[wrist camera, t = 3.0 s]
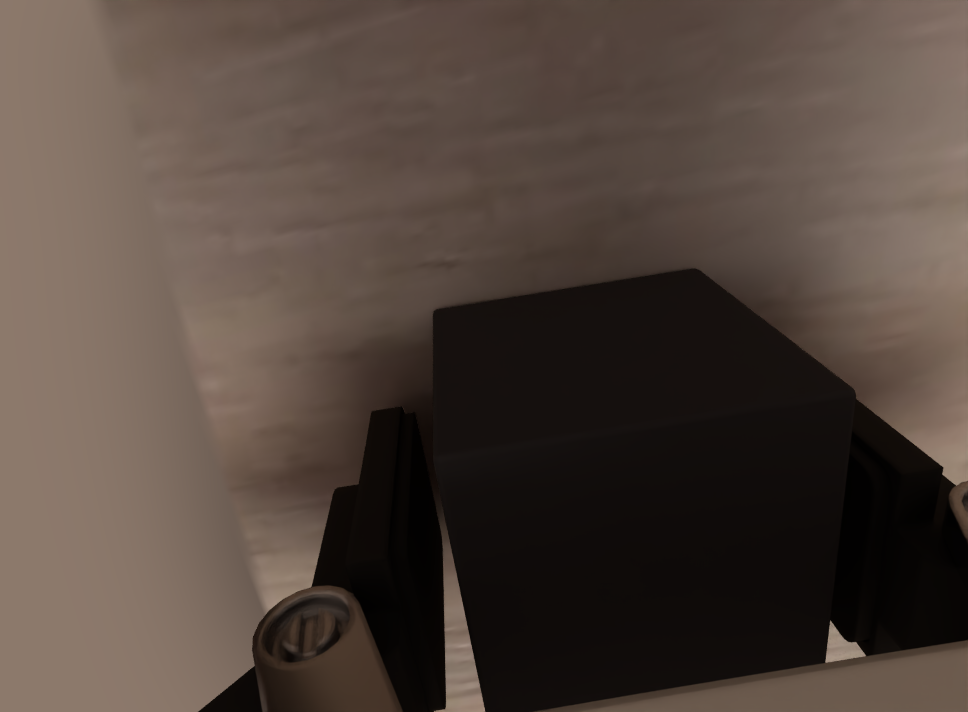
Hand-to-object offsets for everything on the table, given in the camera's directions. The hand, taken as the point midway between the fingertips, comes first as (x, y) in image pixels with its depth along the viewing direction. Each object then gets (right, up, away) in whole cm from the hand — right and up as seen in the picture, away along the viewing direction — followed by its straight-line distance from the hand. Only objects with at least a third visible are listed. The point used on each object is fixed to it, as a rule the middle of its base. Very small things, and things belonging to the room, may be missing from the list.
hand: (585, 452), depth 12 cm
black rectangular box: (0, 0, 0) cm, 1 cm away
